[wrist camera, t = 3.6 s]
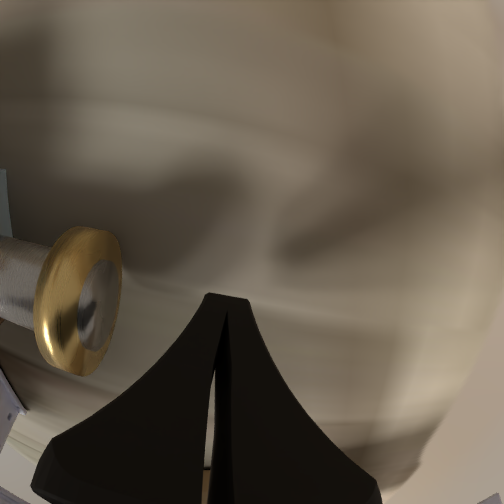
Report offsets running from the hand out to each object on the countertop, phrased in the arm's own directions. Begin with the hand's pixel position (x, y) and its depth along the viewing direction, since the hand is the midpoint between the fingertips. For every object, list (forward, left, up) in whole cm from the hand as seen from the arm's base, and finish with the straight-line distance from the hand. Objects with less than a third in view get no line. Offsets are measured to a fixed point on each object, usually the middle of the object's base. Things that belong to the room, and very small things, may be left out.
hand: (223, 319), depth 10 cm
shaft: (0, +9, -2) cm, 9 cm away
